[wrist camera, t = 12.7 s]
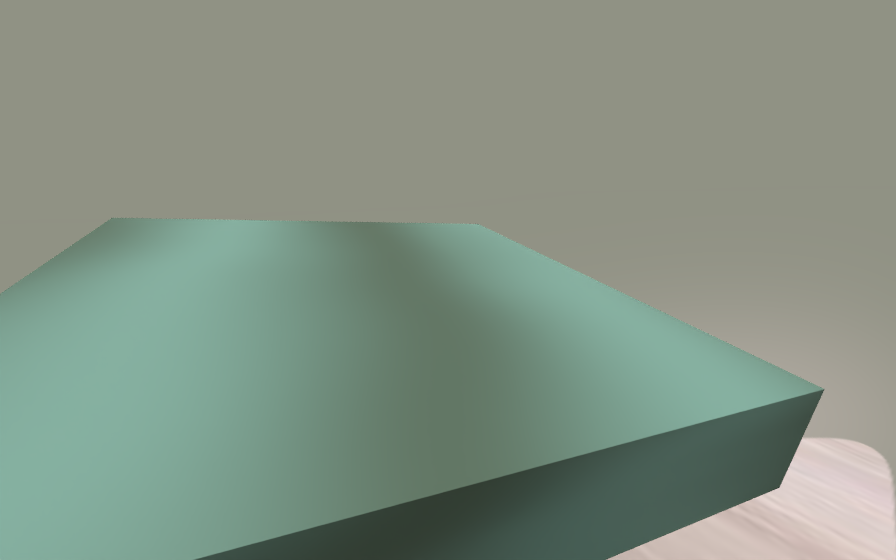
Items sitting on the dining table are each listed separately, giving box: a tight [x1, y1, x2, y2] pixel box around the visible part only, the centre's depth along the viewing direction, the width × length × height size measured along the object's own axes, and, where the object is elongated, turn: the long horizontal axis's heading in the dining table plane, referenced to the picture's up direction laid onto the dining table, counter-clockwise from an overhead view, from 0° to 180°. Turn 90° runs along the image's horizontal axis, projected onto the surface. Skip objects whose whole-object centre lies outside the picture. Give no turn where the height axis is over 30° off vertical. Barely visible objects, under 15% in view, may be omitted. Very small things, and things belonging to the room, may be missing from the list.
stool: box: [0, 218, 824, 560], centre depth 9 cm, size 9×9×13 cm
